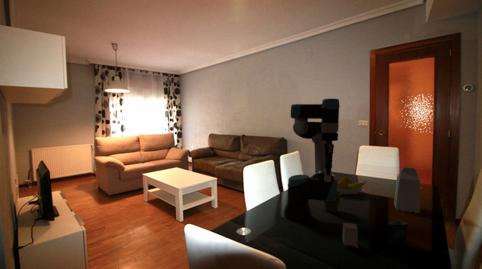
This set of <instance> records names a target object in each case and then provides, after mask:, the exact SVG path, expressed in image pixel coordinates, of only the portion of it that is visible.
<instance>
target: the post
mask: <svg viewBox="0 0 482 269" xmlns="http://www.w3.org/2000/svg"><path fill="white" fill-rule="evenodd" d="M341 240H342V244H344V242H343V239H341ZM344 246H345V247H344ZM343 247H344V248H349V247H352V248H351V249H356V248H358V249H357V250H359V249H360V247H359V245H358V243H357V246H352V245H345V244H344V245H343Z"/></svg>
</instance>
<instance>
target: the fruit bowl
mask: <svg viewBox="0 0 482 269" xmlns="http://www.w3.org/2000/svg"><path fill="white" fill-rule="evenodd" d="M336 180H337V182H338V187H337V191H339V192H341V193H342V195H343V196H350V195H357V194H358V193H360V192H361V191H362V190H363V186H364V185H365V184H366V181H364V182H356V181H355V182H354V181H352V179H350V178H349V177H348V176H345V175H344V176H342V177H340V178H339V179H336ZM342 195H341V196H342Z"/></svg>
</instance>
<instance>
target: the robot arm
mask: <svg viewBox="0 0 482 269" xmlns="http://www.w3.org/2000/svg"><path fill="white" fill-rule="evenodd" d="M340 105H341V104H340V99H338V98H324V99H322V103H317V104H316V103H311V104H309V103H308V104H307V103H302V104H301V103H295V104H294V103H293V104H291V105H290V118H291V119H294V122H293V125H292V130H293V132H294V134H295V135H296V136H298V137H299V138H302V139H306V140H311V142H312V143H313V144H314V170H315V173H314V174H313V175H312V177H310V176H309V175H307V174H295V175H291V176H289V178H288V179H287V180H288V181H287V202H286V205H285V208H284V210H283V216H284V217H285V218H286V219H288V220H290V221H295V222H308V221H309V220H311V219H312V212H311V208H310V205H309V200H312V201H323V202H324V201H334V200H335V199H336V195H337V187H338V182H337V180H338V179H335V177H334V175H333V174H332V168H333V157H334V148H335V145H334V144H333V141H334V142H337V141H339V129H340V128H339V127H340V126H339V125H340V122H339V119H340V118H339V117H340ZM311 119H312V120H314V119H315V120H321V121H309V120H311Z"/></svg>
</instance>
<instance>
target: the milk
mask: <svg viewBox="0 0 482 269" xmlns="http://www.w3.org/2000/svg"><path fill="white" fill-rule="evenodd" d="M393 199H394V200H393V205H395V206H394V208H396V209H395V211H398V210H401V211H400V212H405V211H407V212H406V213H411V212H415V213H414V214H417V213H420V214H421V181H420V178H419V175H418V172H417V170H416V168H415V167H409V166H408V167H407V166H402V168H401V170H400V171H399V173H397V176H396V182H395V193H394V198H393Z"/></svg>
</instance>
